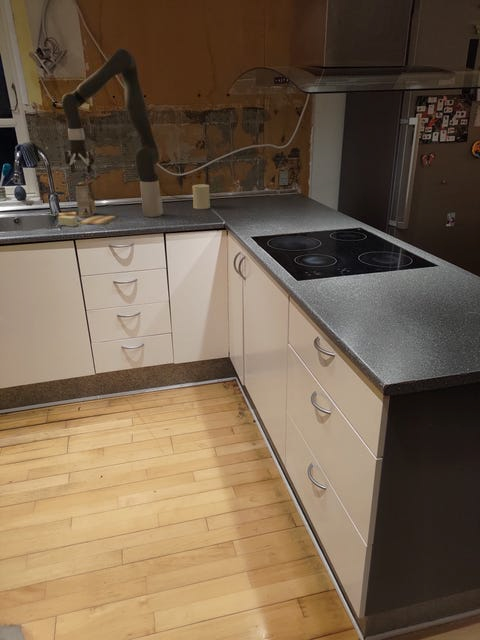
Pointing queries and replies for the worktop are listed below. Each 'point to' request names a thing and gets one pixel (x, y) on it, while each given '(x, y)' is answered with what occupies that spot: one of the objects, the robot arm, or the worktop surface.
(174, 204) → the worktop surface
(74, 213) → the oak block
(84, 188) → the coffee box
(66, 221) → the sage block
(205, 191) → the can
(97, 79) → the robot arm
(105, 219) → the birch board
